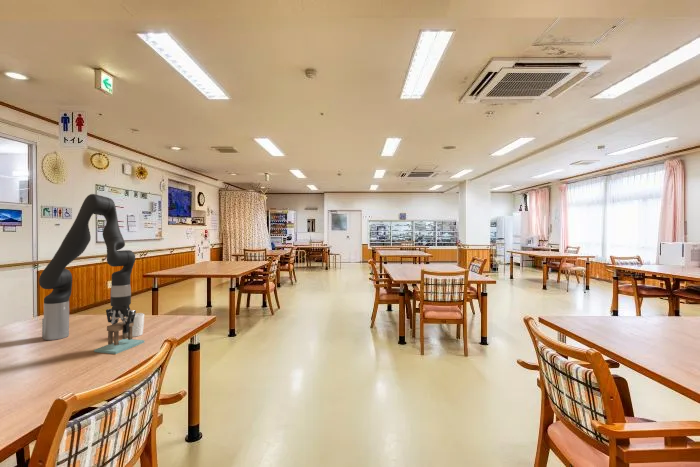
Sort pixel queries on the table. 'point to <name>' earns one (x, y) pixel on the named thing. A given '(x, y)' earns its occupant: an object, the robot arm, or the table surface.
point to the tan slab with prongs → (116, 329)
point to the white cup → (138, 325)
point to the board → (119, 346)
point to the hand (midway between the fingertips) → (120, 332)
